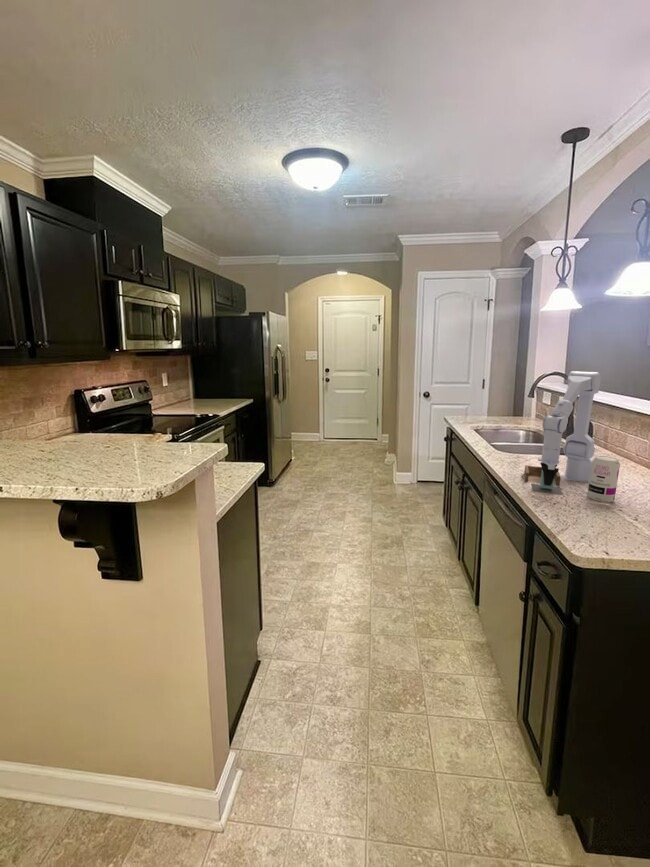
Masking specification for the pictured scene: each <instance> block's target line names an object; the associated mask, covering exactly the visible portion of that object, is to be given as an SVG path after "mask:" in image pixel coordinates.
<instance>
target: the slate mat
mask: <svg viewBox="0 0 650 867" xmlns="http://www.w3.org/2000/svg"><path fill="white" fill-rule="evenodd" d="M531 489H532V490H531V491H532V492H534V493H536V492H537V493H543V494H552V495H559V496H564V494H563V492H562V489H561V486H557V485H553V489H548V488H541V486H540V483H531Z"/></svg>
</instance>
